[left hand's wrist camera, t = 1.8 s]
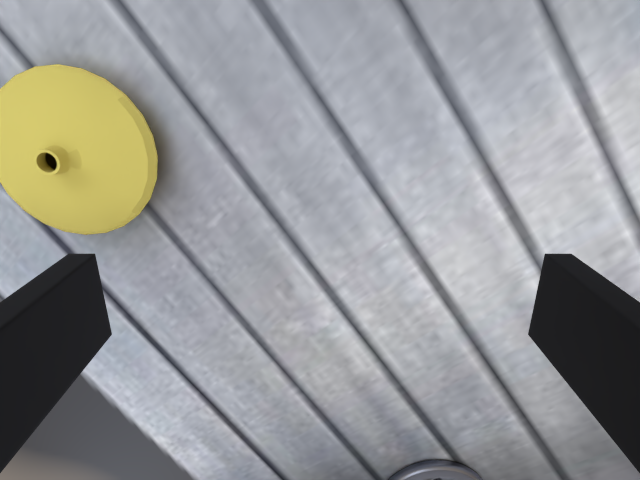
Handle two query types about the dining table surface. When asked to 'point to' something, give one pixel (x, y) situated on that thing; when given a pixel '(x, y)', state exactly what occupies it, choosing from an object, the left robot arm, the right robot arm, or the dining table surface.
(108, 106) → the vase
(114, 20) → the dining table surface
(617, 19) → the dining table surface
